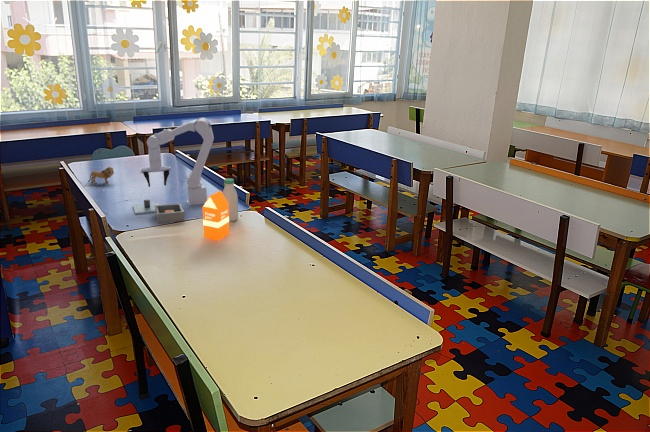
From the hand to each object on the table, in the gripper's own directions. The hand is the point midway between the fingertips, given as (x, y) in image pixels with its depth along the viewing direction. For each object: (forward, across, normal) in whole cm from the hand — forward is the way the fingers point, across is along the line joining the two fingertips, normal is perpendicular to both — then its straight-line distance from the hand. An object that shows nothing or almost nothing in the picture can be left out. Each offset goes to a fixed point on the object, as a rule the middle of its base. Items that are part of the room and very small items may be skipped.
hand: (157, 185), depth 255 cm
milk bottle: (+10, +30, -33) cm, 45 cm away
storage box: (+9, +3, -24) cm, 26 cm away
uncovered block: (+9, +3, -24) cm, 25 cm away
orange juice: (+10, +19, -51) cm, 55 cm away
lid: (+9, -6, -9) cm, 14 cm away
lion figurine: (+10, -26, +45) cm, 53 cm away
